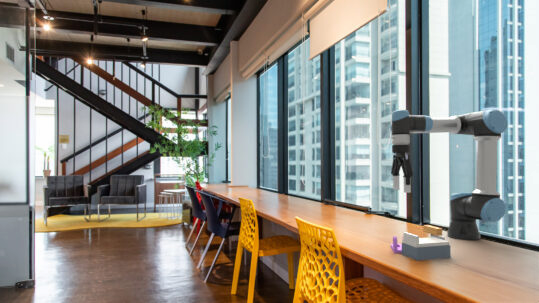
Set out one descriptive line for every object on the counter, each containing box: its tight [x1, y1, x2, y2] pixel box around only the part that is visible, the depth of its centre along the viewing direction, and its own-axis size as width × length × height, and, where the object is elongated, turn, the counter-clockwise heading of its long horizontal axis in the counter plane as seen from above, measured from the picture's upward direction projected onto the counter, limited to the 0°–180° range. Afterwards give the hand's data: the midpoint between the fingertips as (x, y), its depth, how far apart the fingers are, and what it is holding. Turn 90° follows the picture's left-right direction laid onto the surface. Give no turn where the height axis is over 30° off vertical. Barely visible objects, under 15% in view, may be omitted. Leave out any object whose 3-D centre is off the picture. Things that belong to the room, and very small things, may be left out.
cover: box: [401, 231, 450, 248], centre depth 148 cm, size 16×9×4 cm, turn 105°
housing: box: [401, 242, 452, 262], centre depth 152 cm, size 22×17×5 cm
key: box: [422, 224, 446, 240], centre depth 158 cm, size 3×11×9 cm, turn 14°
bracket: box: [390, 235, 402, 254], centre depth 159 cm, size 13×6×7 cm, turn 169°
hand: (401, 191), depth 159 cm, fingers open, 13 cm apart
